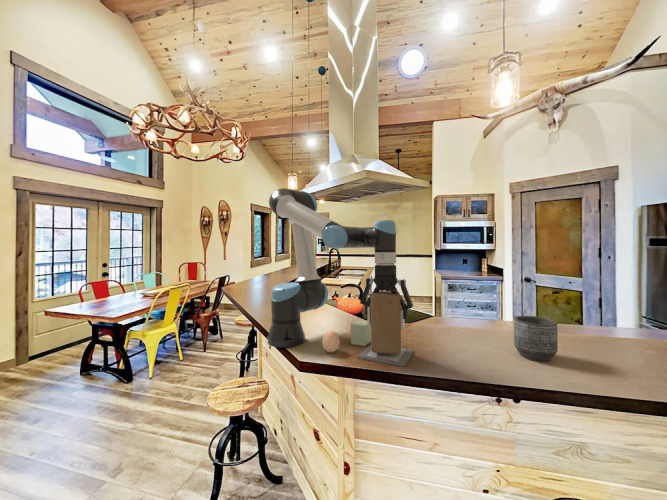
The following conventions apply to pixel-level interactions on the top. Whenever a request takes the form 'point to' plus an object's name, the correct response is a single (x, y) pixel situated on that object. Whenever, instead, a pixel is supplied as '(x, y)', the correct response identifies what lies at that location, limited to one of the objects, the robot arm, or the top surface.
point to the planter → (535, 337)
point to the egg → (331, 341)
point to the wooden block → (385, 322)
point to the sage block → (360, 333)
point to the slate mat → (387, 356)
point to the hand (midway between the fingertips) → (385, 326)
